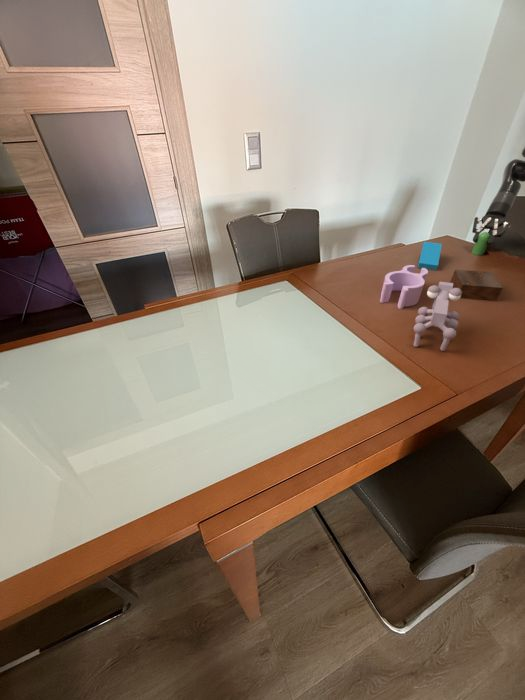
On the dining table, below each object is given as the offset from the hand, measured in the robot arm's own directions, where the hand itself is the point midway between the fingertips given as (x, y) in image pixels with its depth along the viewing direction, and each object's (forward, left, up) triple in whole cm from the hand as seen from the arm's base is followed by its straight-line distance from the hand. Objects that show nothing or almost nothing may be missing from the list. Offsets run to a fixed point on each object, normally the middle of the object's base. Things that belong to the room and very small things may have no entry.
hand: (481, 242), depth 129 cm
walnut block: (+10, +35, -5) cm, 37 cm away
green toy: (-1, -2, -5) cm, 6 cm away
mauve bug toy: (+28, +64, -5) cm, 70 cm away
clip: (+34, +42, -5) cm, 55 cm away
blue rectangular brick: (+21, +10, -5) cm, 24 cm away
